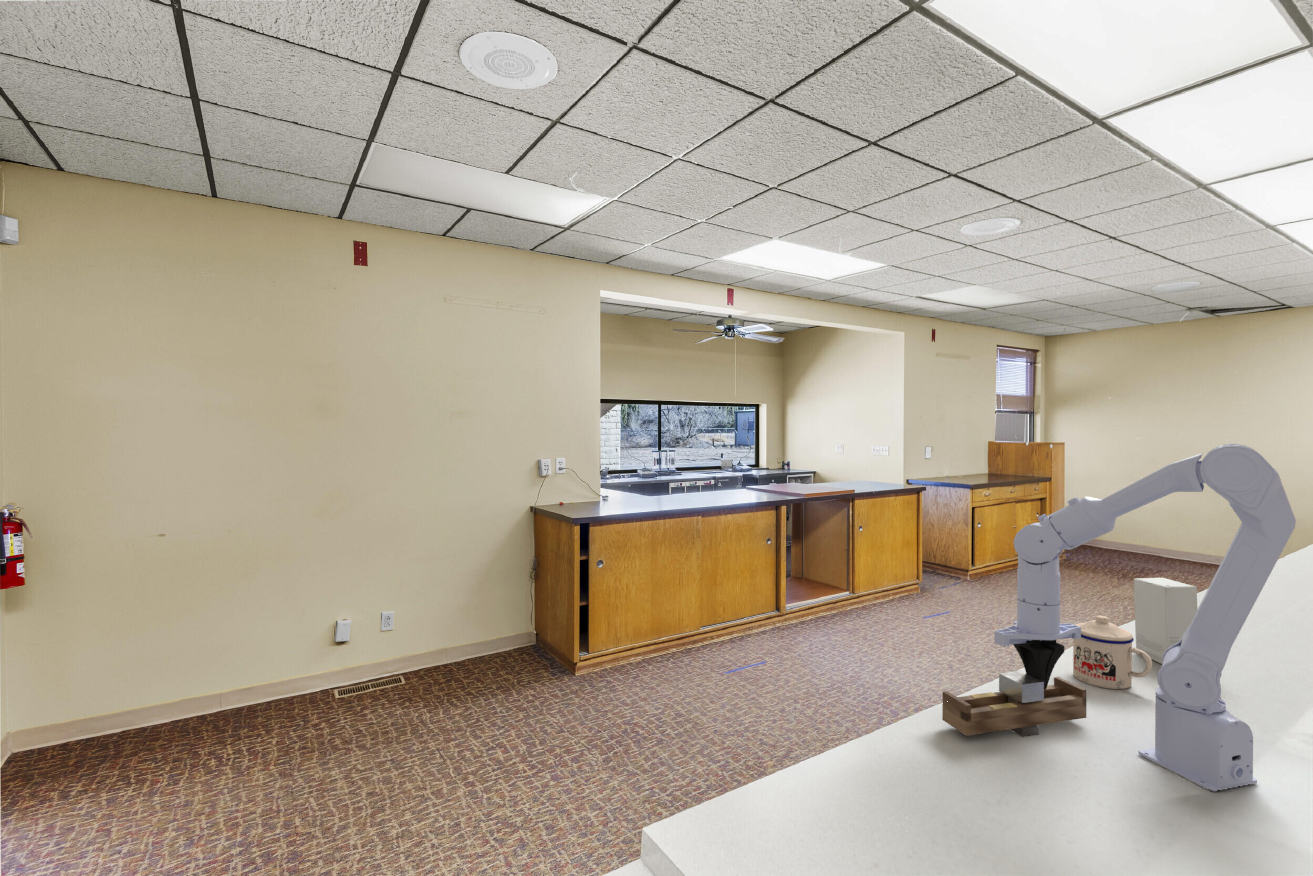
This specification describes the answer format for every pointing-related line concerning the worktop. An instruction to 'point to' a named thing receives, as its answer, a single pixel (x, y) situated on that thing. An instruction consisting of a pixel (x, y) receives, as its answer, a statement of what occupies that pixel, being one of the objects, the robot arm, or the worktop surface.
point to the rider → (1021, 687)
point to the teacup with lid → (1106, 655)
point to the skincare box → (1162, 613)
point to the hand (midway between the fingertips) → (1037, 687)
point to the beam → (1014, 710)
